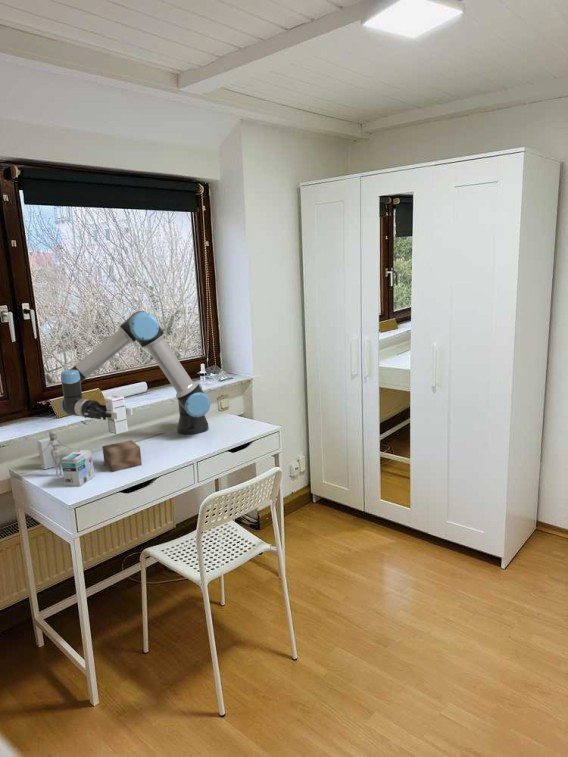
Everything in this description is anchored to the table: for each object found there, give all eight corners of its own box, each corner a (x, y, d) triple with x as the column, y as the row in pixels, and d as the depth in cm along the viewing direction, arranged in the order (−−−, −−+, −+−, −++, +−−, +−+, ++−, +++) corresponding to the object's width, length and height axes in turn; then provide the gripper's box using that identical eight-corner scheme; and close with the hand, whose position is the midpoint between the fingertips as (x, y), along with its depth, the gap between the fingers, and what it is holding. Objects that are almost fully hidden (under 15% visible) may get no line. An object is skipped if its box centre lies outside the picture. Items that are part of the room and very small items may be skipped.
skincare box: (55, 464, 237) (51, 436, 235) (59, 466, 234) (55, 438, 232) (40, 468, 233) (36, 440, 231) (44, 470, 230) (40, 442, 228)
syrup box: (128, 431, 229) (125, 396, 226) (115, 434, 224) (111, 399, 222) (121, 429, 232) (117, 394, 230) (108, 432, 228) (104, 397, 226)
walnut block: (133, 458, 239) (131, 440, 238) (142, 465, 229) (139, 446, 228) (104, 464, 233) (102, 446, 232) (112, 472, 223) (109, 453, 221)
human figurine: (45, 480, 218) (38, 435, 215) (41, 478, 221) (35, 434, 218) (75, 471, 226) (69, 428, 222) (72, 469, 229) (66, 427, 225)
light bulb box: (80, 486, 209) (76, 459, 207) (64, 486, 211) (60, 458, 209) (95, 476, 220) (91, 449, 217) (79, 476, 221) (76, 449, 219)
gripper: (108, 412, 245) (144, 417, 232) (69, 423, 230) (105, 429, 217) (106, 395, 244) (142, 399, 231) (67, 405, 229) (103, 410, 215)
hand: (124, 413), depth 224 cm, fingers closed on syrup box, 6 cm apart
